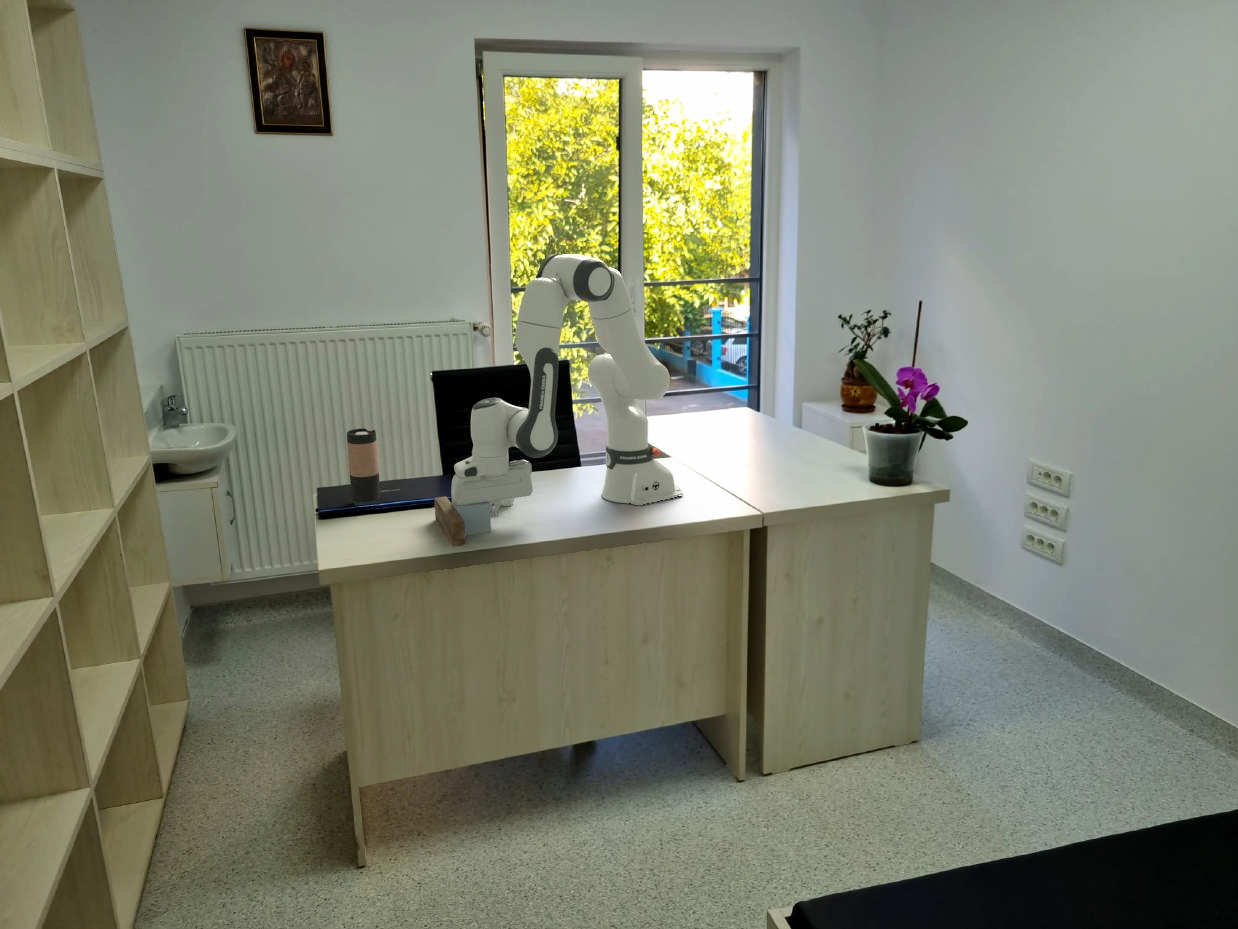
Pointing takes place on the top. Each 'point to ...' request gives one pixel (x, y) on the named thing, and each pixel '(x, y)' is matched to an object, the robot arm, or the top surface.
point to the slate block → (475, 517)
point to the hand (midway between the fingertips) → (493, 516)
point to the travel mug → (363, 465)
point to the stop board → (450, 521)
